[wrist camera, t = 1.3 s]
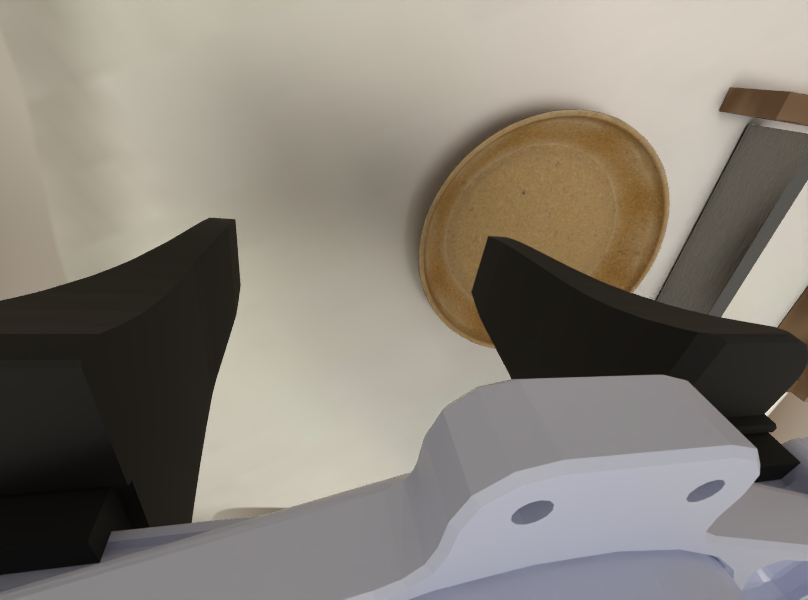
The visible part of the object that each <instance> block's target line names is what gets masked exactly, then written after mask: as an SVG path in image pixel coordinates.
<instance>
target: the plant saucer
mask: <svg viewBox="0 0 808 600" xmlns="http://www.w3.org/2000/svg"><path fill="white" fill-rule="evenodd" d="M669 205H670V204H669V188H668V183H667V177H666V174H665V170H664V167H663V165H662V163H661V161H660V159H659V157H658V155H657V154H656V152H655V150H654V149H653V147H652V146H651V145H650V143H649V142H648V141H647V140H646V139H645V138H644V137H643V136H642V135H641V134H640V133H639V132H638V131H636V130H635V129H634V128H632V127H631V126H630V125H628V124H626V123H625V122H623V121H621V120H620V119H618V118H615V117H612V116H609V115H606V114H603V113H599V112H594V111H588V110H559V111H551V112H546V113H542V114H538V115H535V116H531V117H528V118H526V119H523V120H520V121H518V122H516V123H513V124H511V125H509V126H507V127H505V128H503V129H502V130H500V131H498V132H497V133H495V134H494V135H492V136H491V137H489V138H488V139H486V140H485V141H483V142H482V143H481V144H480V145H478V146H477V147H476V148H475V149H473V150H472V151H471V152H470V153H469V154H468V155H467V156H466V157H465V158H464V159H463V160H462V161H461V162H460V163H459V164H458V165H457V166H456V167H455V169H454V170H453V171H452V172H451V174H450V175H449V176H448V177H447V179H446V180H445V182H444V183H443V185H442V186H441V188H440V189H439V191H438V193H437V194H436V196H435V198H434V200H433V202H432V204H431V206H430V208H429V211H428V213H427V216H426V219H425V222H424V225H423V229H422V233H421V238H420V245H419V271H420V278H421V283H422V286H423V289H424V292H425V294H426V297H427V299H428V300H429V302H430V304H431V306H432V308H433V310H434V311H435V313H436V314H437V315H438V316H439V318H440V319H441V320H442V321H443V322H444V323H445V324H446V325H447V326H448V327H449V328H450V329H451V330H453V331H454V332H456V333H457V334H459V335H460V336H462V337H464V338H466V339H468V340H469V341H471V342H474V343H476V344H479V345H482V346H487V347H491V348H495V346H494V344H493V342H492V340H491V339H490V337H489V335H488V333H487V331H486V329H485V327H484V325H483V323H482V321H481V319H480V317H479V314H478V311H477V309H476V306H475V302H474V299H473V296H472V293H471V291H472V288H473V284H474V281H475V278H476V274H477V271H478V268H479V264H480V261H481V258H482V255H483V251H484V248H485V245H486V241H487V238H488V236H498V237H508V238H511V239H514V240H517V241H519V242H521V243H523V244H526V245H528V246H530V247H532V248H534V249H536V250H538V251H540V252H542V253H544V254H546V255H548V256H550V257H551V258H553V259H555V260H557V261H559V262H561V263H563V264H565V265H567V266H569V267H571V268H573V269H575V270H577V271H580V272H582V273H584V274H586V275H588V276H590V277H593V278H595V279H597V280H599V281H602V282H604V283H607V284H609V285H612V286H614V287H617V288H620V289H622V290H625V291H627V292H630V293H633V292H634V290H635V289H636V288H637V287H638V286H639V284H640V283H641V281H642V280H643V279H644V277H645V276H646V274H647V273H648V271H649V270H650V268H651V266H652V264H653V263H654V261H655V259H656V257H657V255H658V252H659V250H660V247H661V244H662V241H663V238H664V235H665V232H666V227H667V222H668V217H669ZM495 349H496V348H495Z"/></svg>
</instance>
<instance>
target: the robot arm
mask: <svg viewBox="0 0 808 600" xmlns="http://www.w3.org/2000/svg"><path fill="white" fill-rule="evenodd" d="M240 286H241V285H240V272H239V260H238V247H237V234H236V222H235V219H222V218H208V219H206V220H204V221H202V222H200V223H198V224H197V225H195V226H193V227H192V228H190V229H188V230H187V231H185V232H183V233H182V234H180V235H178V236H176V237H175V238H173V239H171V240H170V241H168V242H166V243H164V244H162V245H160V246H158V247H156V248H154V249H152V250H151V251H149V252H147V253H145V254H143V255H141V256H139V257H137V258H135V259H133V260H130V261H128V262H126V263H124V264H121V265H119V266H116V267H114V268H111V269H109V270H106V271H103V272H101V273H98V274H96V275H93V276H90V277H87V278H84V279H80V280H77V281H74V282H70V283H67V284H64V285H60V286H57V287H54V288H51V289H47V290H44V291H40V292H37V293H32V294H28V295H24V296H19V297H16V298H11V299H6V300H2V301H0V600H808V437H807V438H797V439H792V440H789V441H787V442H785V443H783V444H782V445H781V444H780V443H779V442H778V441H777V440H776V439H775V438H774V437H772V436H771V435H770V434H769V433H768V432H773V431H774V430H775V429H776V424H775V423H774V422H773V421H772V420H771V419H770V418H768V417H767V416H766V415H765V413H766V412H767V411H768V410H769V409H770V408H771V407H772V406H773V405H774V404H775V402H776V401H777V400H778V399H779V398H780V397H781V396H782V395H783V394H784V393H785V392H786V391H787V390H788V389H789V388H790V387H791V386H792V385H793V384H794V383H795V382H796V380H797V379H798V378H799V377H800V376H801V374H802V373H803V371H804V369H805V367H806V366H807V362H808V348H807V344H805V343H804V342H802V341H801V340H800V339H798V338H797V337H795V336H794V335H793V334H791V333H790V332H788V331H786V330H783V329H779V328H776V327H771V326H766V325H760V324H754V323H749V322H743V321H737V320H732V319H726V318H721V317H716V316H712V315H707V314H703V313H699V312H694V311H690V310H686V309H683V308H679V307H675V306H671V305H668V304H664V303H661V302H658V301H655V300H651V299H648V298H645V297H642V296H639V295H636V294H633V293H630V292H627V291H625V290H622V289H620V288H617V287H614V286H612V285H609V284H607V283H604V282H602V281H599V280H597V279H595V278H593V277H590V276H588V275H586V274H584V273H582V272H580V271H577V270H575V269H573V268H571V267H569V266H567V265H565V264H563V263H561V262H559V261H557V260H555V259H553V258H551V257H550V256H548V255H546V254H544V253H542V252H540V251H538V250H536V249H534V248H532V247H530V246H528V245H526V244H523V243H521V242H519V241H517V240H514V239H511V238H508V237H498V236H488V238H487V241H486V245H485V248H484V251H483V255H482V258H481V261H480V264H479V268H478V271H477V274H476V278H475V281H474V284H473V288H472V291H471V293H472V296H473V299H474V302H475V306H476V309H477V311H478V314H479V317H480V319H481V321H482V323H483V325H484V327H485V329H486V331H487V333H488V335H489V337H490V339H491V340H492V342H493V344H494V346H495V348H496V350H497V352H498V354H499V355H500V357H501V359H502V361H503V363H504V365H505V367H506V369H507V370H508V372H509V375H510V377H511V379H512V380H507V381H503V382H498V383H494V384H489V385H485V386H480V387H476V388H475V389H473V390H472V391H470V392H468V393H467V394H465V395H464V396H462V397H460V398H459V399H457V400H455V401H454V402H452V403H451V404H449V405H447V406H446V407H445V408H444V409H443V410H442V412H441V413H440V415H439V416H438V418H437V419H436V421H435V422H434V424H433V425H432V427H431V428H430V429H429V431H428V432H427V434H426V435H425V437H424V441H423V444H422V447H421V451H420V454H419V458H418V461H417V464H416V466H415V468H414V470H413V471H412V472H411V473H407V474H404V475H400V476H397V477H393V478H390V479H386V480H383V481H379V482H376V483H373V484H369V485H366V486H362V487H359V488H355V489H352V490H349V491H345V492H342V493H338V494H335V495H331V496H328V497H324V498H321V499H318V500H314V501H311V502H307V503H304V504H300V505H297V506H293V507H290V508H287V509H283V510H280V511H276V512H273V513H269V514H266V515H263V516H253V517H243V518H235V519H226V520H215V521H206V522H196V523H192V516H193V508H194V502H195V495H196V488H197V482H198V475H199V468H200V462H201V456H202V450H203V444H204V438H205V432H206V426H207V421H208V415H209V410H210V404H211V399H212V394H213V390H214V386H215V382H216V378H217V375H218V372H219V369H220V365H221V362H222V359H223V356H224V353H225V350H226V346H227V343H228V340H229V337H230V334H231V330H232V327H233V324H234V320H235V317H236V313H237V307H238V300H239V293H240Z"/></svg>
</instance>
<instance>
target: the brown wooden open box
mask: <svg viewBox="0 0 808 600" xmlns="http://www.w3.org/2000/svg"><path fill="white" fill-rule="evenodd" d="M720 111H721V112H727V113H733V114H739V115H745V116H751V117H757V118H763V119H769V120H775V121H781V122H787V123H793V124H799V125H805V126H808V95H805V94H799V93H794V92H785V91H771V90H758V89H744V88H730V90H729V92H728V94H727V96H726V98H725V100H724V102H723V104H722V106H721V108H720ZM778 328H779V329H783V330H786V331H788V332H790V333H791V334H793V335H794V336H795V337H797V338H798V339H800V340H801V341H802V342H804V343H805V344H807V348H808V287H807V288H806V290H805V291H804V292H803V294H802V295H801V297H800V298H799V299H798V301H797V302H796V303H795V305H794V306H793V308H792V309H791V310H790V312H789V313H788V315H787V316H786V317H785V319H784V320H783V321H782V323H781V324H780V326H779V327H778ZM786 392H792V393H793V394H794V395H796V396H797V397H798V398H800V399H801V400H802V401H804V402H808V362H807V366H806V367H805V369H804V371H803V373H802V374H801V376H800V377H799V378H798V379H797V380H796V382H795V383H794V384H793V385H792V386H791V387H790V388H789V389H788V390H787V391H786Z"/></svg>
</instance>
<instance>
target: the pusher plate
mask: <svg viewBox="0 0 808 600" xmlns="http://www.w3.org/2000/svg"><path fill="white" fill-rule="evenodd" d="M807 180H808V134H806V133H800V132H794V131H788V130H782V129H775V128H769V127H763V126H757V125H751V124H749V125H748V127H747V129H746V131H745V132H744V134H743V136H742V138H741V140H740V142H739V144H738V146H737V148H736V150H735V152H734V153H733V155H732V157H731V159H730V161H729V163H728V165H727V167H726V169H725V171H724V173H723V174H722V176H721V178H720V180H719V182H718V184H717V186H716V188H715V190H714V192H713V194H712V195H711V197H710V199H709V201H708V203H707V205H706V207H705V209H704V211H703V213H702V215H701V216H700V218H699V220H698V222H697V224H696V226H695V228H694V230H693V232H692V234H691V236H690V237H689V239H688V241H687V243H686V245H685V247H684V249H683V251H682V253H681V255H680V257H679V258H678V260H677V262H676V264H675V266H674V268H673V270H672V272H671V274H670V276H669V278H668V279H667V281H666V283H665V285H664V287H663V289H662V291H661V293H660V295H659V297H658V299H657V300H656V301H658V302H661V303H664V304H668V305H671V306H675V307H679V308H683V309H686V310H690V311H694V312H699V313H703V314H707V315H712V316H716V317H721V316H722V315H723V313H724V312H725V310H726V308H727V307H728V305H729V304H730V302H731V300H732V299H733V297H734V296H735V294H736V293H737V291H738V289H739V288H740V286H741V285H742V283H743V281H744V280H745V278H746V277H747V275H748V274H749V272H750V270H751V269H752V267H753V266H754V264H755V262H756V261H757V259H758V258H759V256H760V255H761V253H762V251H763V250H764V248H765V247H766V245H767V243H768V242H769V240H770V239H771V237H772V236H773V234H774V232H775V231H776V229H777V228H778V226H779V224H780V223H781V221H782V220H783V218H784V217H785V215H786V213H787V212H788V210H789V209H790V207H791V205H792V204H793V202H794V201H795V199H796V198H797V196H798V194H799V193H800V191H801V190H802V188H803V186H804V185H805V183H806V182H807Z"/></svg>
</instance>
